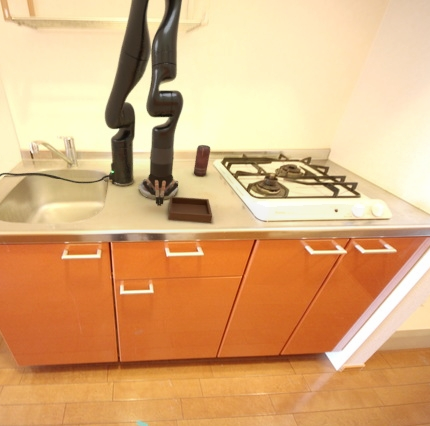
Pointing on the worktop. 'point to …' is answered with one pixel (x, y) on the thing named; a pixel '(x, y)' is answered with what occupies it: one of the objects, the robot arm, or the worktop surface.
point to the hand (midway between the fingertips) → (159, 204)
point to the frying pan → (146, 192)
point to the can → (201, 160)
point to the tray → (190, 209)
